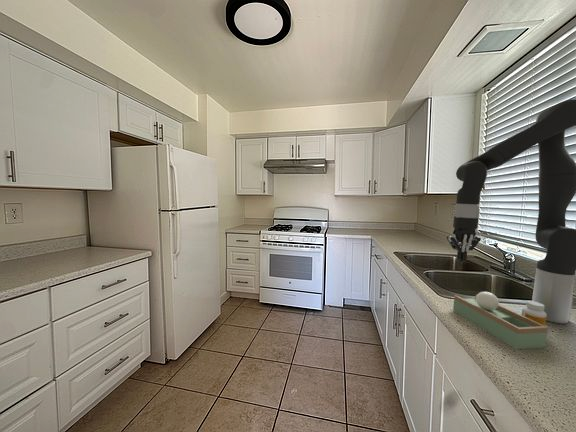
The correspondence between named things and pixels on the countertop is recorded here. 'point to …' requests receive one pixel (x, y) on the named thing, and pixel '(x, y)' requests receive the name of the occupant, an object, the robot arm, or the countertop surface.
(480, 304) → the ball
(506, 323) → the runway
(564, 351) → the countertop surface
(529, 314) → the supplement bottle
